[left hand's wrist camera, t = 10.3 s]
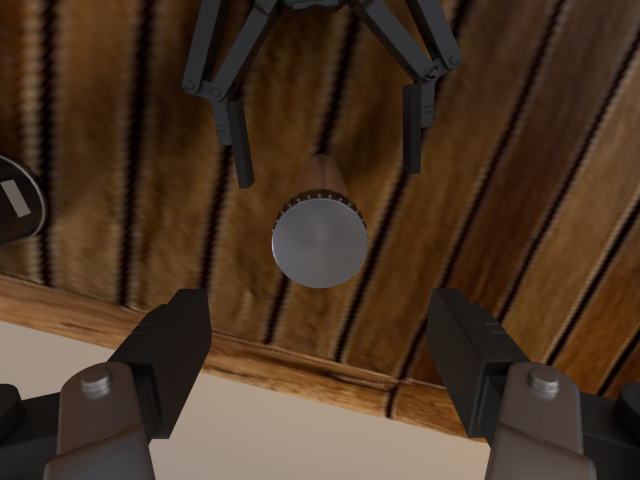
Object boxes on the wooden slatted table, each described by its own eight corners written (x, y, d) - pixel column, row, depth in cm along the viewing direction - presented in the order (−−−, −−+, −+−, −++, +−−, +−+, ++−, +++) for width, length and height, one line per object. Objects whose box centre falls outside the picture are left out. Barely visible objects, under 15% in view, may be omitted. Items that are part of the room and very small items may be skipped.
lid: (275, 270, 20) (270, 288, 18) (275, 185, 18) (269, 194, 16) (360, 273, 20) (365, 291, 18) (368, 189, 18) (374, 198, 16)
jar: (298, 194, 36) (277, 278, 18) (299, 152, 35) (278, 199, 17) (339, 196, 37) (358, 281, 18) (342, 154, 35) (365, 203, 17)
